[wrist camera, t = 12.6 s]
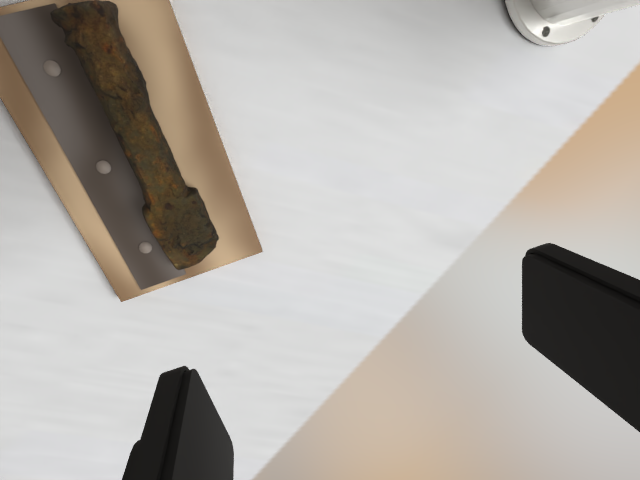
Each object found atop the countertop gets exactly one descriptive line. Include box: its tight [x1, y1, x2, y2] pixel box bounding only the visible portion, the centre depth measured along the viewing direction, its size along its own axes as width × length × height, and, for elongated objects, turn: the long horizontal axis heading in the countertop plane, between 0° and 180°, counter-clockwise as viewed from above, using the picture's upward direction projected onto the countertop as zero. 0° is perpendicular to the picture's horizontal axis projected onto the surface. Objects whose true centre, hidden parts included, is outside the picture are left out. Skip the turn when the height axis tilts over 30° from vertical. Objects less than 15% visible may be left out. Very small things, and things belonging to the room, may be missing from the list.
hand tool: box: [50, 0, 219, 270], centre depth 25 cm, size 19×4×5 cm
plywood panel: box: [0, 0, 263, 302], centre depth 27 cm, size 13×22×1 cm, turn 16°
